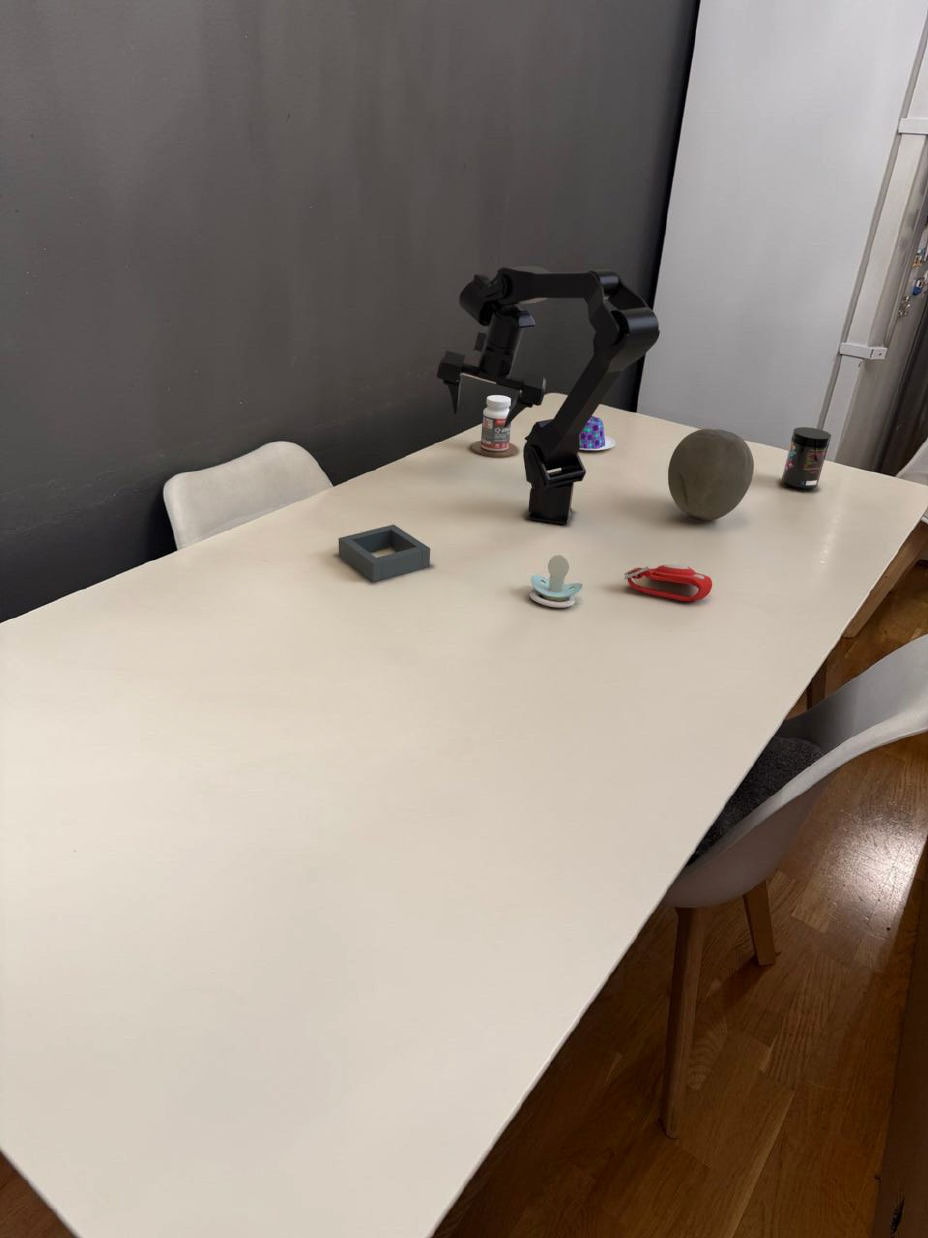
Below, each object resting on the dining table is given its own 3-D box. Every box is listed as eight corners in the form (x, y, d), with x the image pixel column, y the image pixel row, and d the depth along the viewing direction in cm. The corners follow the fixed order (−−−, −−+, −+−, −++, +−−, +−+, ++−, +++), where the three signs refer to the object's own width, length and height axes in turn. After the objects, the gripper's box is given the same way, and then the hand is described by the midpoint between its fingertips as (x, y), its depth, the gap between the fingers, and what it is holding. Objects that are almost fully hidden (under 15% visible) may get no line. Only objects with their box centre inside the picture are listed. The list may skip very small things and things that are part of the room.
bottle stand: (393, 541, 137) (393, 524, 136) (429, 566, 131) (430, 548, 129) (338, 556, 132) (338, 537, 130) (373, 582, 125) (373, 563, 124)
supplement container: (798, 477, 173) (812, 425, 168) (824, 489, 168) (839, 436, 162) (772, 481, 170) (785, 428, 165) (798, 494, 165) (812, 440, 160)
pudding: (554, 449, 179) (557, 424, 176) (558, 431, 189) (561, 407, 186) (614, 456, 177) (617, 430, 175) (615, 437, 188) (618, 413, 185)
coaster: (520, 445, 180) (520, 443, 180) (512, 459, 172) (512, 457, 172) (477, 439, 182) (478, 437, 181) (467, 453, 174) (467, 451, 174)
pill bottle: (496, 454, 173) (500, 404, 168) (474, 446, 176) (477, 397, 171) (514, 447, 177) (519, 398, 172) (492, 440, 180) (496, 392, 175)
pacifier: (573, 615, 121) (583, 594, 126) (578, 575, 117) (588, 555, 122) (522, 603, 123) (534, 584, 128) (525, 563, 119) (538, 545, 124)
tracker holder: (670, 560, 134) (726, 570, 127) (666, 589, 135) (722, 600, 128) (617, 561, 127) (674, 572, 119) (614, 592, 127) (670, 604, 120)
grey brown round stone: (752, 534, 148) (773, 448, 140) (668, 529, 147) (684, 443, 140) (731, 501, 160) (749, 420, 152) (653, 497, 159) (668, 416, 152)
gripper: (558, 334, 154) (533, 411, 165) (454, 305, 153) (436, 384, 164) (555, 363, 146) (528, 442, 157) (446, 333, 145) (427, 414, 155)
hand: (480, 419), depth 158 cm, fingers open, 9 cm apart
